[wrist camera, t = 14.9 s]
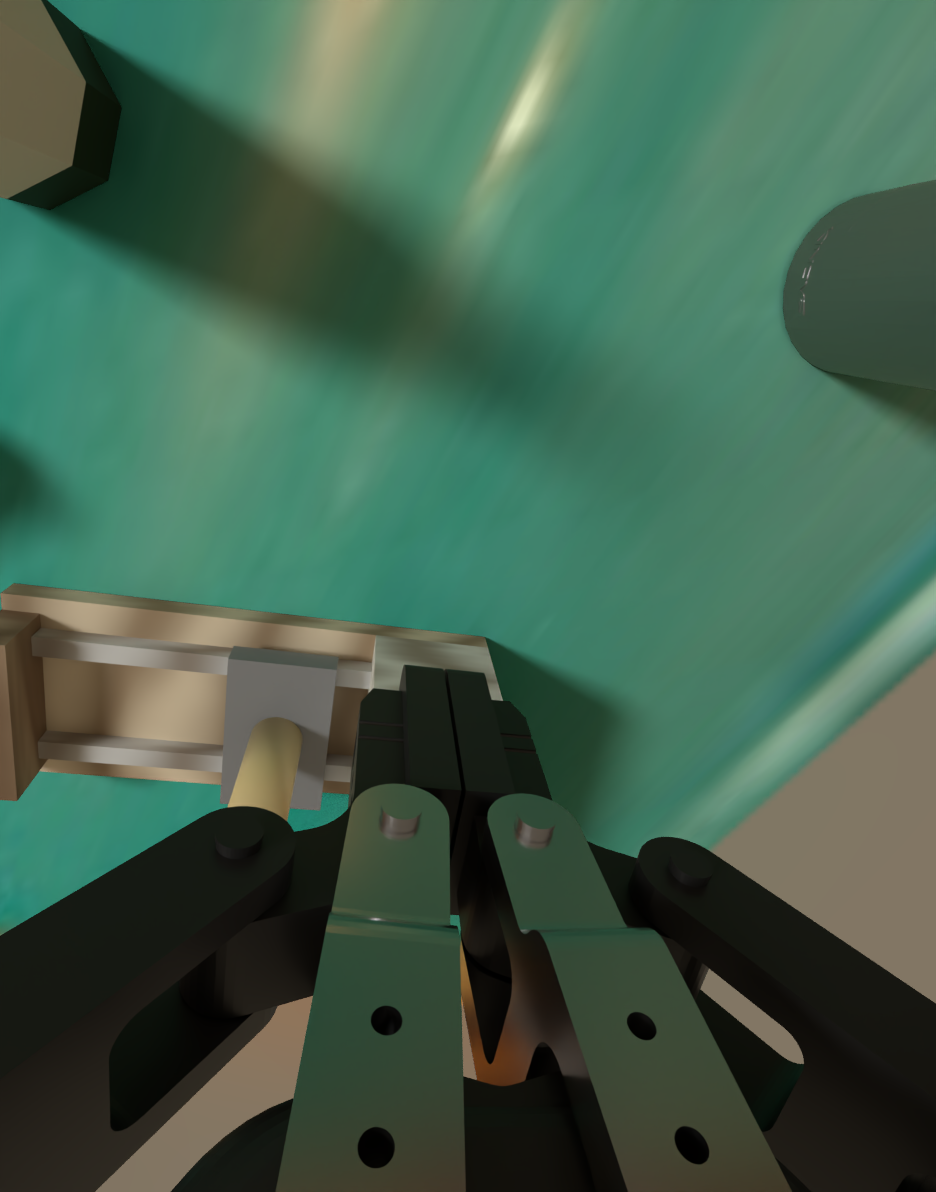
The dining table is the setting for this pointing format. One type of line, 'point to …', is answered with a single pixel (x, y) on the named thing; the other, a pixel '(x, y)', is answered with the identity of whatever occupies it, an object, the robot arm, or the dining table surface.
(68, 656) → the rail board
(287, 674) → the carriage
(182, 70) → the dining table surface
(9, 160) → the wine bottle
